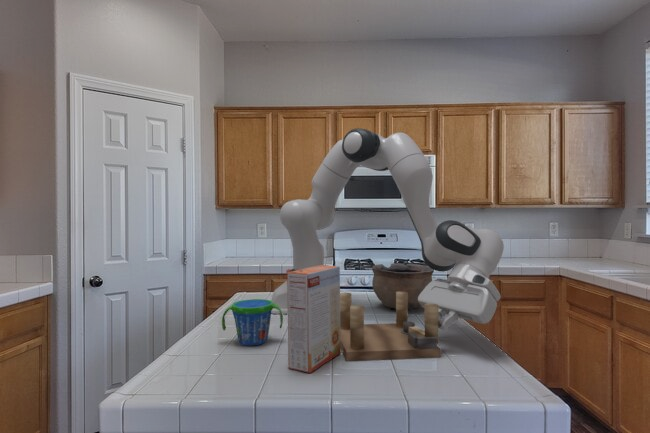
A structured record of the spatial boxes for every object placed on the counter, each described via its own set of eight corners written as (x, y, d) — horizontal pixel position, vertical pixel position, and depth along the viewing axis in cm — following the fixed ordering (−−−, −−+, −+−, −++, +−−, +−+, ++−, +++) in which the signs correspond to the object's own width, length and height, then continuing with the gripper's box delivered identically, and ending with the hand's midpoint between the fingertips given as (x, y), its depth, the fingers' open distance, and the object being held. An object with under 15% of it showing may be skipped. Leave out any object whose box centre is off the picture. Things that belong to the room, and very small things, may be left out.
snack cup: (216, 348, 93) (217, 307, 93) (228, 335, 104) (228, 298, 104) (280, 349, 93) (280, 307, 93) (285, 336, 103) (285, 298, 104)
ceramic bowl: (419, 300, 149) (418, 262, 150) (445, 313, 128) (445, 269, 128) (364, 302, 146) (364, 263, 146) (383, 316, 124) (382, 271, 124)
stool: (346, 361, 85) (346, 310, 85) (333, 332, 107) (333, 292, 107) (440, 357, 87) (440, 307, 87) (408, 329, 109) (408, 290, 109)
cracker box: (320, 349, 93) (320, 264, 93) (341, 353, 90) (341, 265, 90) (285, 368, 81) (285, 270, 81) (309, 374, 78) (309, 272, 78)
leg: (400, 329, 101) (400, 296, 101) (411, 328, 102) (411, 295, 102) (429, 344, 88) (429, 306, 89) (441, 343, 90) (441, 305, 90)
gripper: (428, 270, 104) (402, 310, 99) (495, 280, 87) (468, 329, 82) (439, 285, 107) (414, 325, 101) (507, 297, 89) (481, 346, 84)
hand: (439, 327), depth 91 cm, fingers closed
